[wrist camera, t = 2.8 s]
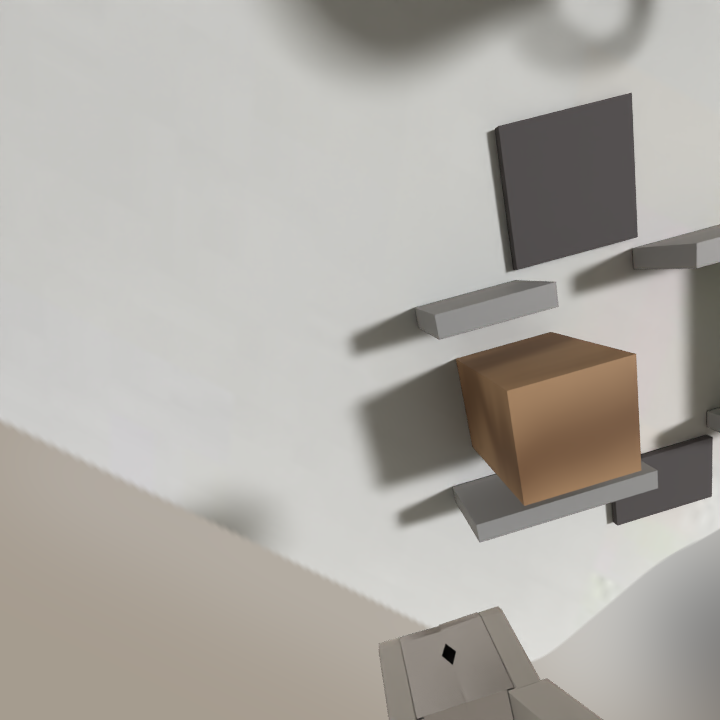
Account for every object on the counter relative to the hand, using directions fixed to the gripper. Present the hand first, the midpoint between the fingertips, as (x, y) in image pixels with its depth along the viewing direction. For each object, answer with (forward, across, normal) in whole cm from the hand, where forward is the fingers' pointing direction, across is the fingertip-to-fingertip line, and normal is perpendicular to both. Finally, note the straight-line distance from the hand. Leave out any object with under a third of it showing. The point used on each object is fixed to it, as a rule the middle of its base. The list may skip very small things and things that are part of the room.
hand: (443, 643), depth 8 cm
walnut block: (+10, -7, -1) cm, 13 cm away
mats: (+10, -13, -2) cm, 17 cm away
